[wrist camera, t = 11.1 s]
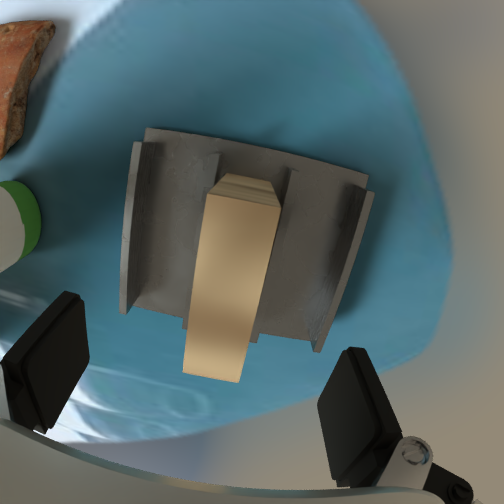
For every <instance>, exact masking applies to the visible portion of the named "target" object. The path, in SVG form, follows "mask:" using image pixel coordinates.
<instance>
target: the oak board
mask: <svg viewBox="0 0 504 504" xmlns="http://www.w3.org/2000/svg"><path fill="white" fill-rule="evenodd" d="M280 212H281V206H280V204H279V201H278V199H277V196H276V194H275V192H274V189H273V187H272V184H271V182H269V181H264V180H259V179H255V178H250V177H245V176H239V175H234V174H229V173H226V174H225V176H224V177H223V178H222V179H221V180H220V181H219V182H218V183H217V184H216V185H215V186H214V187H213V188H212V189H211V190H210V191H209V192H208V193H207V198H206V203H205V209H204V215H203V221H202V228H201V234H200V240H199V247H198V253H197V260H196V267H195V274H194V281H193V289H192V296H191V304H190V312H189V320H188V328H187V337H186V346H185V355H184V364H183V372H184V373H189V374H193V375H198V376H203V377H209V378H214V379H220V380H225V381H231V382H237V383H239V379H240V375H241V371H242V368H243V364H244V360H245V356H246V352H247V348H248V344H249V340H250V336H251V332H252V328H253V324H254V320H255V316H256V312H257V308H258V304H259V300H260V296H261V292H262V288H263V283H264V279H265V275H266V271H267V267H268V263H269V258H270V254H271V250H272V246H273V242H274V237H275V233H276V229H277V225H278V220H279V216H280Z"/></svg>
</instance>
